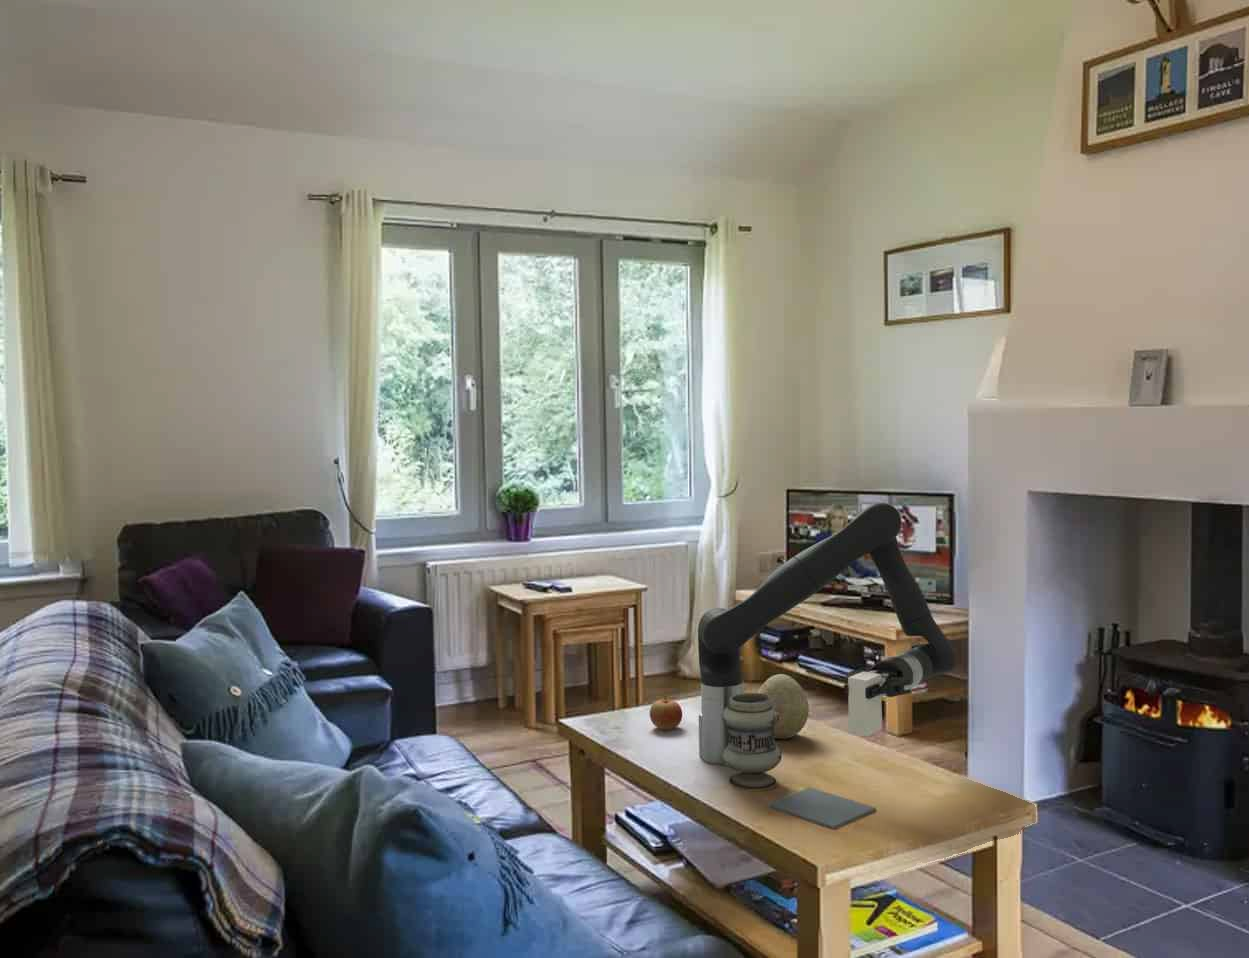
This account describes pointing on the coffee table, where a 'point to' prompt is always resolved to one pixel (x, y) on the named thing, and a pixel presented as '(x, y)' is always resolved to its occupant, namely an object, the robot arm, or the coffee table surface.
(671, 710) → the apple
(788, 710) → the fossilized egg
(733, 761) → the apothecary jar
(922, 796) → the coffee table surface
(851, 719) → the tall cream pillar block
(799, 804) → the mat
